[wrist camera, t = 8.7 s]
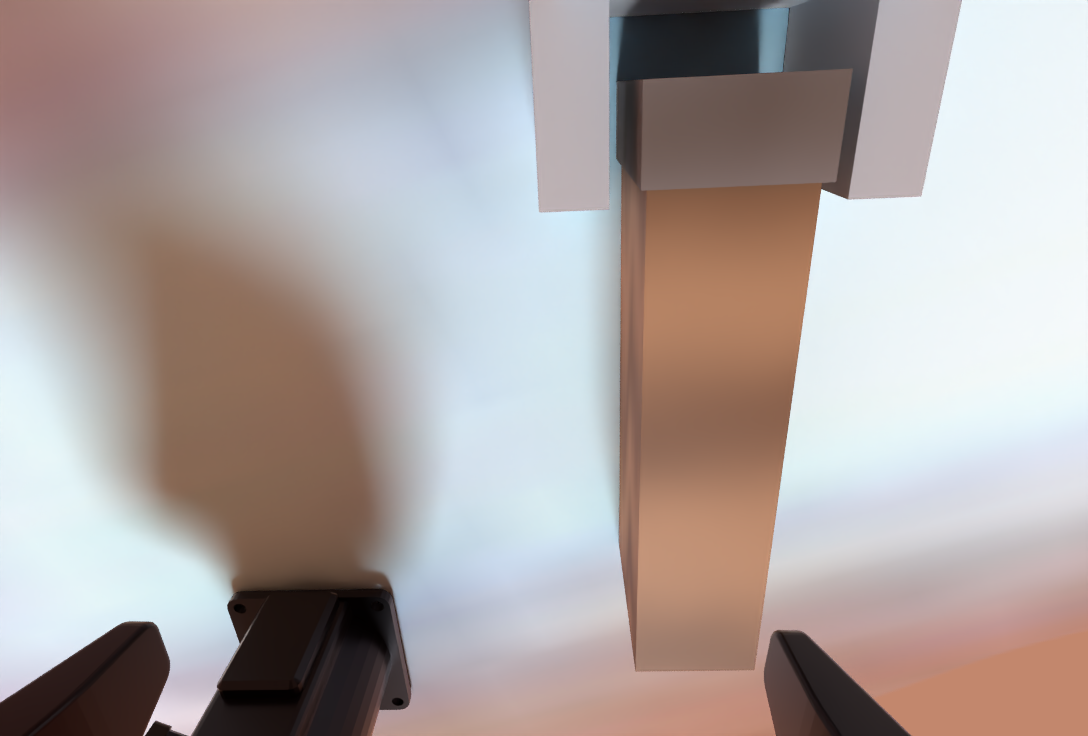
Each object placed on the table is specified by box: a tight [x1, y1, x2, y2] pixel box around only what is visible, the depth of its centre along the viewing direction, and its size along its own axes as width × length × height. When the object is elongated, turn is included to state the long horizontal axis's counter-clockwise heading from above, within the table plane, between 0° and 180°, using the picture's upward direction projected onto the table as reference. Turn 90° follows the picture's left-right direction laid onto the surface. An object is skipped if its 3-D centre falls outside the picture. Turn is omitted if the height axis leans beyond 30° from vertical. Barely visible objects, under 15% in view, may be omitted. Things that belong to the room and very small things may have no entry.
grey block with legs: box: [529, 0, 962, 212], centre depth 12 cm, size 7×8×10 cm
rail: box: [616, 69, 853, 672], centre depth 17 cm, size 16×4×6 cm, turn 3°
